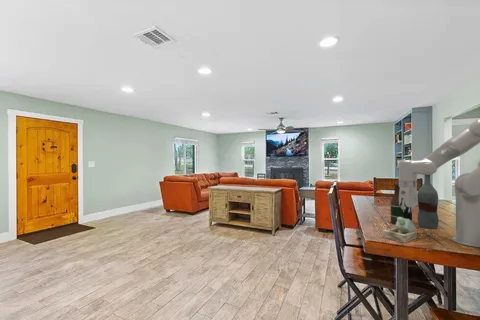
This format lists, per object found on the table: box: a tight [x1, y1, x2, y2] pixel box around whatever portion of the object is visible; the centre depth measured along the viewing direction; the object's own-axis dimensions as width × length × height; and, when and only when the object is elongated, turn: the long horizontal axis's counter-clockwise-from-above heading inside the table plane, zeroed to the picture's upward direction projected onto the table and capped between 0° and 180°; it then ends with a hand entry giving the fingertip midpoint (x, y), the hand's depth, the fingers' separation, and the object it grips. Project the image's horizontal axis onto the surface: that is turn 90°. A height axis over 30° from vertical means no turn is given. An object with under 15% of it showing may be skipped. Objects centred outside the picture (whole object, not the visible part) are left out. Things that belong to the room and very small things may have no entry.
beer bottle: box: [390, 182, 404, 226], centre depth 137 cm, size 8×8×24 cm
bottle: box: [395, 217, 416, 234], centre depth 116 cm, size 5×5×12 cm
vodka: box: [417, 175, 440, 230], centre depth 131 cm, size 9×9×30 cm
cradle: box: [382, 226, 418, 244], centre depth 113 cm, size 10×13×3 cm
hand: (407, 219), depth 118 cm, fingers closed
